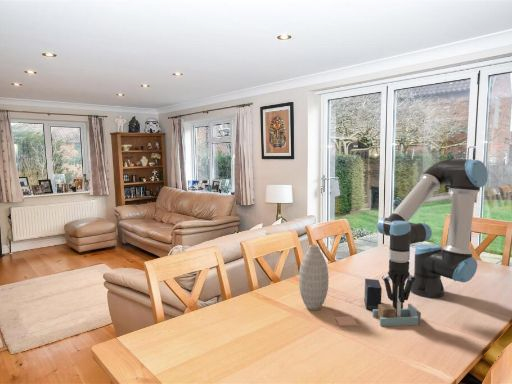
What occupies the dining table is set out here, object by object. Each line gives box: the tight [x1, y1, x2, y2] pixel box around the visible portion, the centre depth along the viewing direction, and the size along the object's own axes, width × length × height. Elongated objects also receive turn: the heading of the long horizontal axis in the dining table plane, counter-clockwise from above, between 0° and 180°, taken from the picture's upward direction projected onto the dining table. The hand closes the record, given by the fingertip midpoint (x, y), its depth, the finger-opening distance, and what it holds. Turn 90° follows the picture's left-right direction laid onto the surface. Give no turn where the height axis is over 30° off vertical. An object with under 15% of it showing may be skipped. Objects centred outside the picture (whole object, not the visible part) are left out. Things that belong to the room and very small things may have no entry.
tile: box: [334, 316, 359, 328], centre depth 143 cm, size 7×7×1 cm
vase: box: [298, 243, 329, 311], centre depth 155 cm, size 13×13×28 cm
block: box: [377, 303, 396, 321], centre depth 143 cm, size 5×5×6 cm
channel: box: [372, 303, 422, 327], centre depth 144 cm, size 16×8×5 cm, turn 93°
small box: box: [363, 278, 383, 311], centre depth 158 cm, size 11×6×10 cm, turn 168°
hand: (397, 316), depth 143 cm, fingers closed
